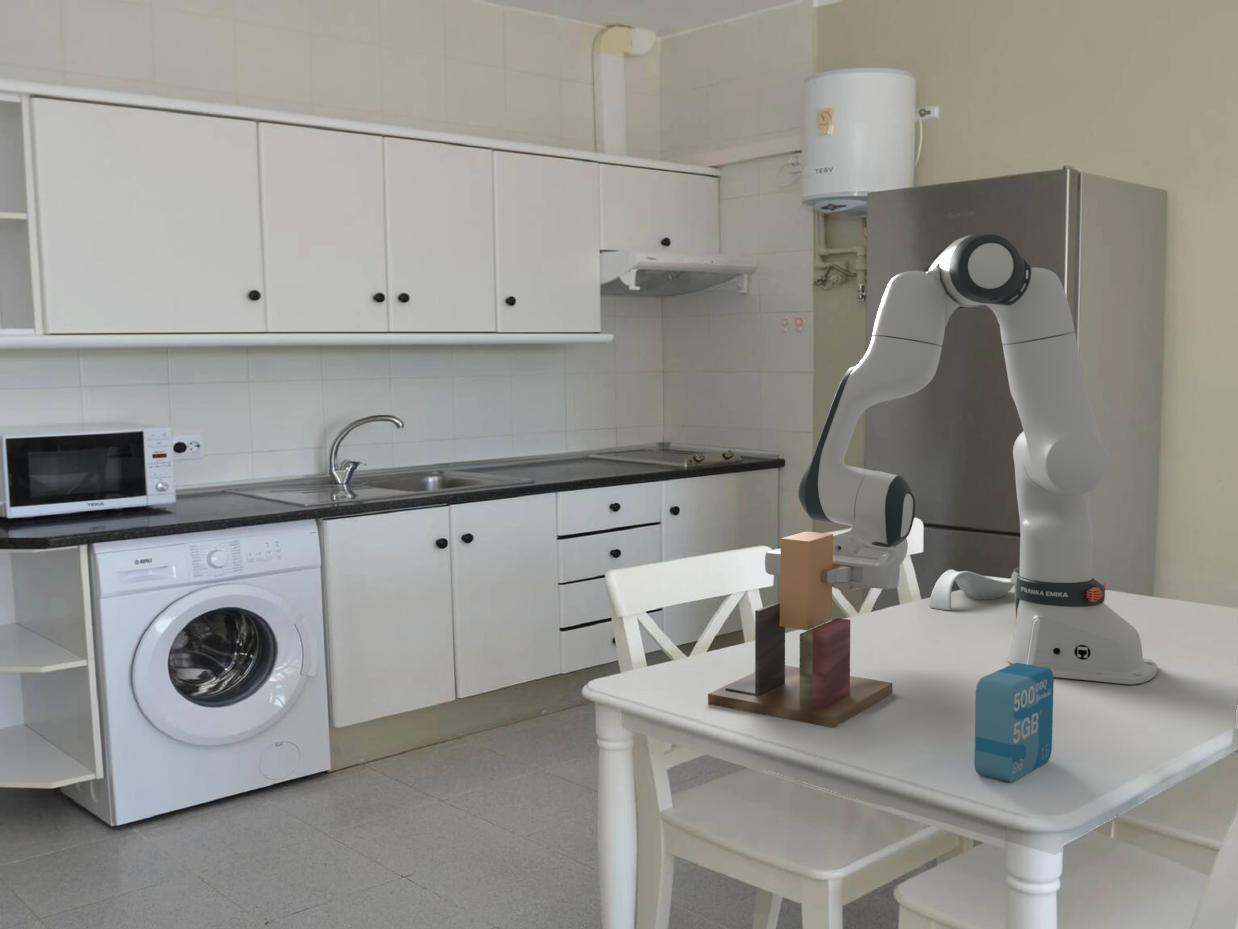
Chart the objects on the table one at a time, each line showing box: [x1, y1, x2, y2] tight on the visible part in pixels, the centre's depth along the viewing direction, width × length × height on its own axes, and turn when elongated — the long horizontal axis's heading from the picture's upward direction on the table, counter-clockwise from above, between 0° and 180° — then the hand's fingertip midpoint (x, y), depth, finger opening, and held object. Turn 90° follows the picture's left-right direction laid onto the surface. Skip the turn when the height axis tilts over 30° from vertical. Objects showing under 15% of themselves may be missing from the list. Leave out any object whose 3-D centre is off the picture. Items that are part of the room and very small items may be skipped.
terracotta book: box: [779, 530, 834, 631], centre depth 178 cm, size 4×8×13 cm, turn 144°
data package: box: [973, 663, 1055, 783], centre depth 147 cm, size 12×4×12 cm, turn 137°
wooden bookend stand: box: [707, 600, 893, 729], centre depth 177 cm, size 20×20×14 cm
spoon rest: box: [928, 569, 1014, 611], centre depth 243 cm, size 24×12×7 cm, turn 136°
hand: (807, 574), depth 178 cm, fingers closed on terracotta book, 4 cm apart
